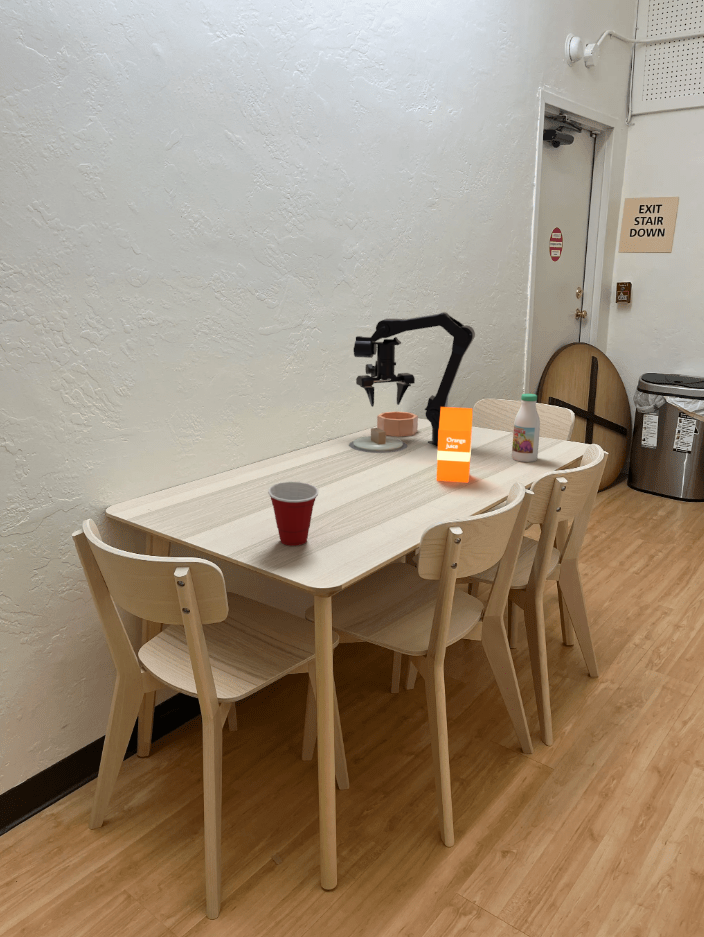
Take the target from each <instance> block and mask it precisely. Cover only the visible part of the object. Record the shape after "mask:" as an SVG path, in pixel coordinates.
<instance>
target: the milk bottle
mask: <svg viewBox="0 0 704 937" xmlns="http://www.w3.org/2000/svg"><path fill="white" fill-rule="evenodd" d="M537 400H538V394H534V393H522V394H521V396H520V402H521V406H520V408H519V410H518V412H517V413H516V416H515V418H514V424H513V432H512V435H513V436H512V445H511V446H512V447H511V459H513V460H514V461H517V462H524V463H531V462H536V461H537V460H538V455H539V445H540V444H539V442H540V432H541V420H540V416H539V413H538V410H537V406H536V405H537V403H538V402H537Z"/></svg>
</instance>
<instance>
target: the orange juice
mask: <svg viewBox="0 0 704 937" xmlns="http://www.w3.org/2000/svg"><path fill="white" fill-rule="evenodd" d="M472 433H473V407H472V408H471V407H470V408H469V407H453V406H452V407H448V406H447V407H441V411H440V422H439V432H438V447H437V454H436V455H437V456H436V480H437V481H438V482H454V483H469V480H470V470H471V468H470V467H471V455H472V454H471V452H472V438H473V437H472V435H473V434H472Z"/></svg>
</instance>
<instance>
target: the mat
mask: <svg viewBox="0 0 704 937" xmlns="http://www.w3.org/2000/svg"><path fill="white" fill-rule="evenodd" d="M402 442H403V446H402V447H401V448H400V449H397V450H392V451H366V450H361V449H358V448H356V447H354V440H352V441H351V442H349V443H348V447H349V448H350V449H352V450H356V451H358V452H363V453H371V454H373V453H374V454H386V453H387V454H388V453H396V452H400V451H404V450H405V449H407V447H408V444H407V443H406V442H404V441H402Z"/></svg>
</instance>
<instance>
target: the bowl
mask: <svg viewBox="0 0 704 937" xmlns="http://www.w3.org/2000/svg"><path fill="white" fill-rule="evenodd" d="M376 419H377V420H376V422H377V423H376V428H379V429H381V430H383V431H385V432H386V436H387V437H398V438H400V437H408V436H409V437H410V436H414V435H415V434H416V433H418V424H419V423H418V421H419V415H417V414H414V413H412V412H406V411H397V410H395V411H387V412H385V411H384V412H381V413H379V414H378V415H377V416H376Z"/></svg>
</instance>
